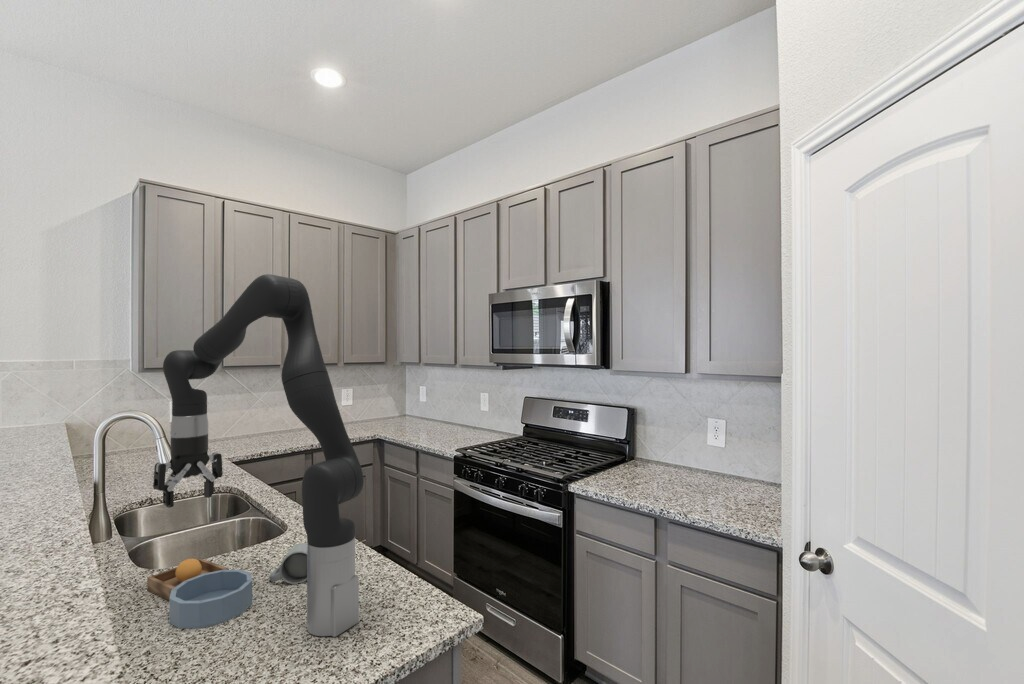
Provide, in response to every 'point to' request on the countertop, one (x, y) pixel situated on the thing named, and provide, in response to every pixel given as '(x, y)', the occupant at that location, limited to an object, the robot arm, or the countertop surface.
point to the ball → (188, 569)
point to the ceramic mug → (292, 566)
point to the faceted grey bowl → (210, 598)
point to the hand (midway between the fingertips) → (189, 501)
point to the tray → (175, 579)
